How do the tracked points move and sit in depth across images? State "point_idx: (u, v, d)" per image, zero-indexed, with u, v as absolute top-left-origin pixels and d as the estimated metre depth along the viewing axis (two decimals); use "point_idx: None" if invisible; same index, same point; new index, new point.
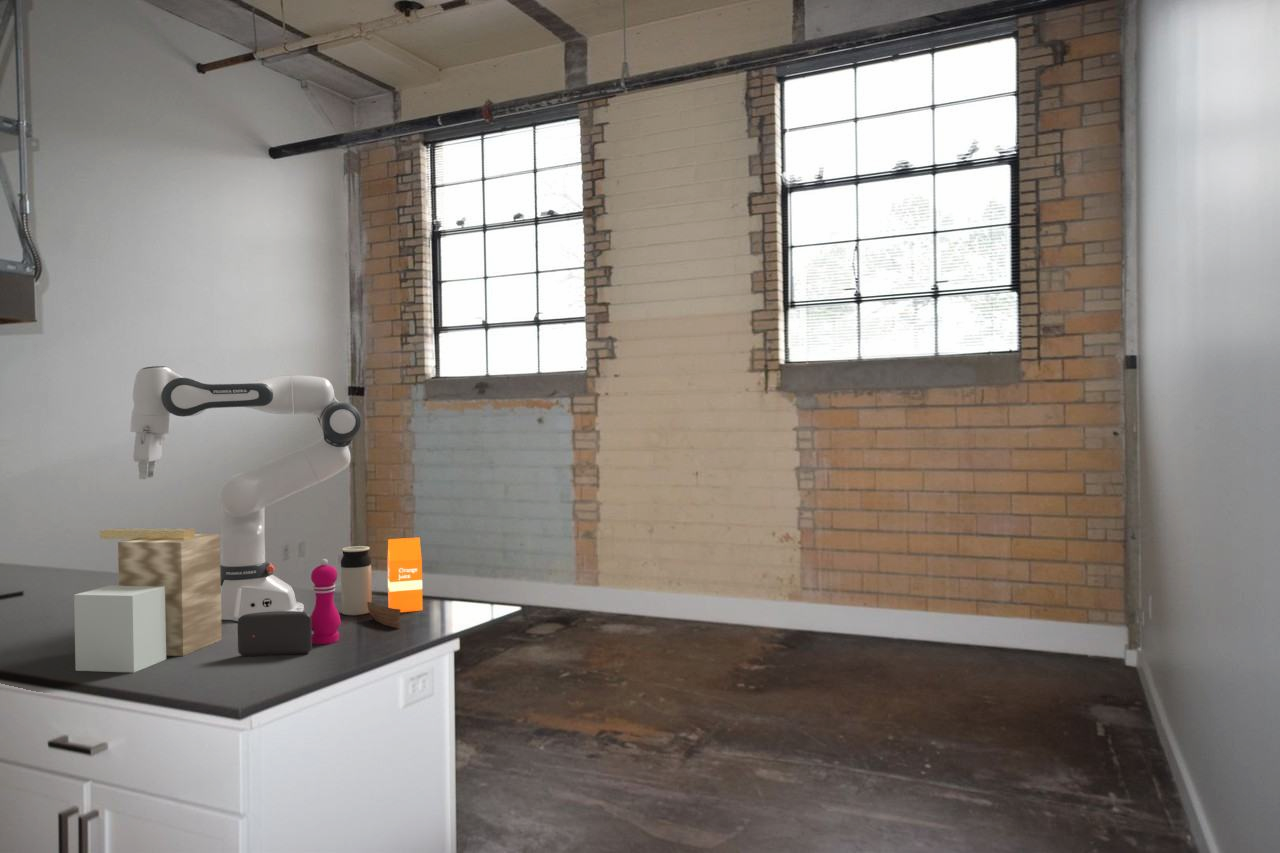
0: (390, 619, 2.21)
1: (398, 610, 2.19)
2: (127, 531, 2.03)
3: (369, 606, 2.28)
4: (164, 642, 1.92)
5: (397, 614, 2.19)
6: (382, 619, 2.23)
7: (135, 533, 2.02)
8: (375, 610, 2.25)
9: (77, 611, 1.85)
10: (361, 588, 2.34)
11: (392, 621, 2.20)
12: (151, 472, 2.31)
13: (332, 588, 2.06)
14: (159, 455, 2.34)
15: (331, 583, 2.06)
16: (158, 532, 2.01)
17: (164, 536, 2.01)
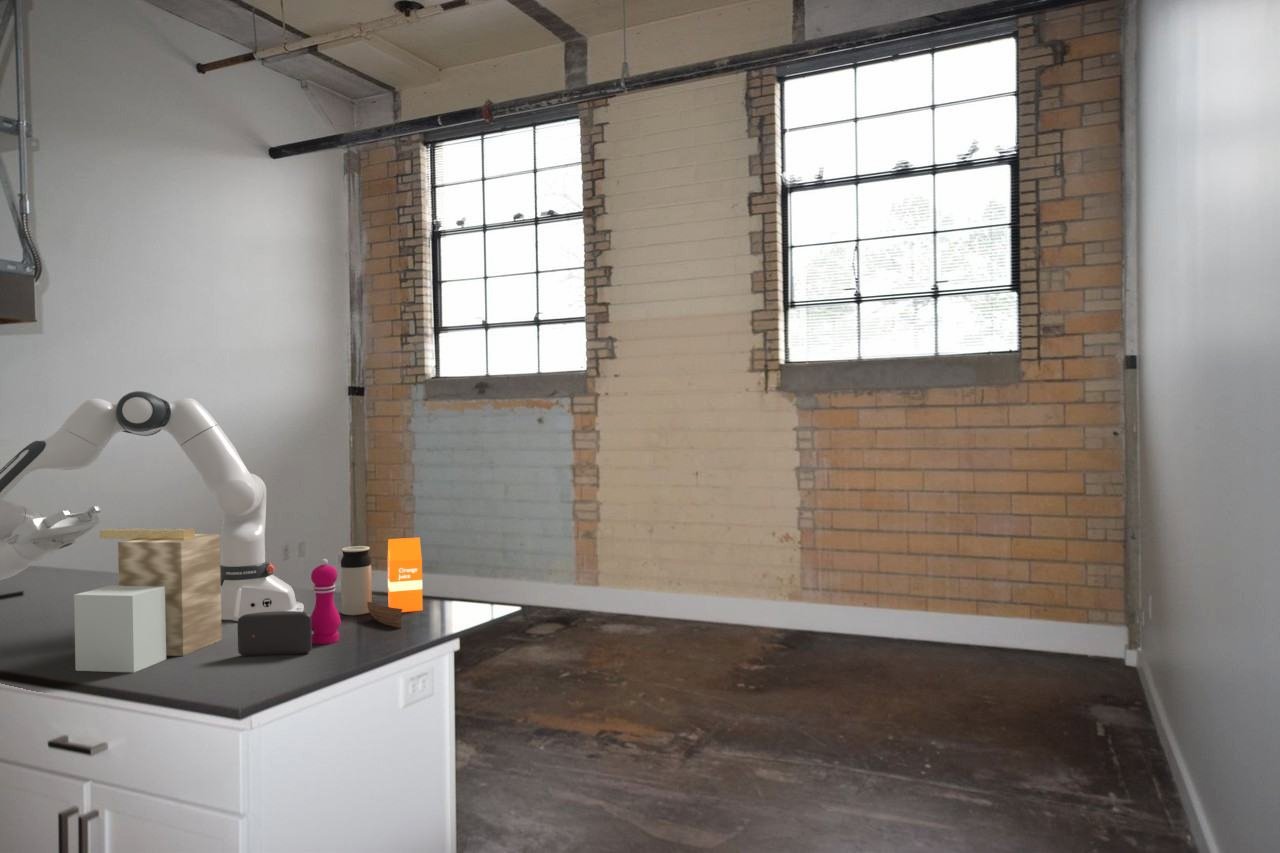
0: (391, 618, 2.21)
1: (400, 609, 2.19)
2: (127, 531, 2.03)
3: (369, 606, 2.28)
4: (164, 642, 1.92)
5: (398, 614, 2.19)
6: (383, 619, 2.23)
7: (135, 533, 2.02)
8: (376, 610, 2.25)
9: (77, 611, 1.85)
10: (361, 588, 2.34)
11: (393, 621, 2.20)
12: (90, 509, 2.11)
13: (332, 588, 2.06)
14: None
15: (331, 583, 2.06)
16: (158, 532, 2.01)
17: (164, 536, 2.01)
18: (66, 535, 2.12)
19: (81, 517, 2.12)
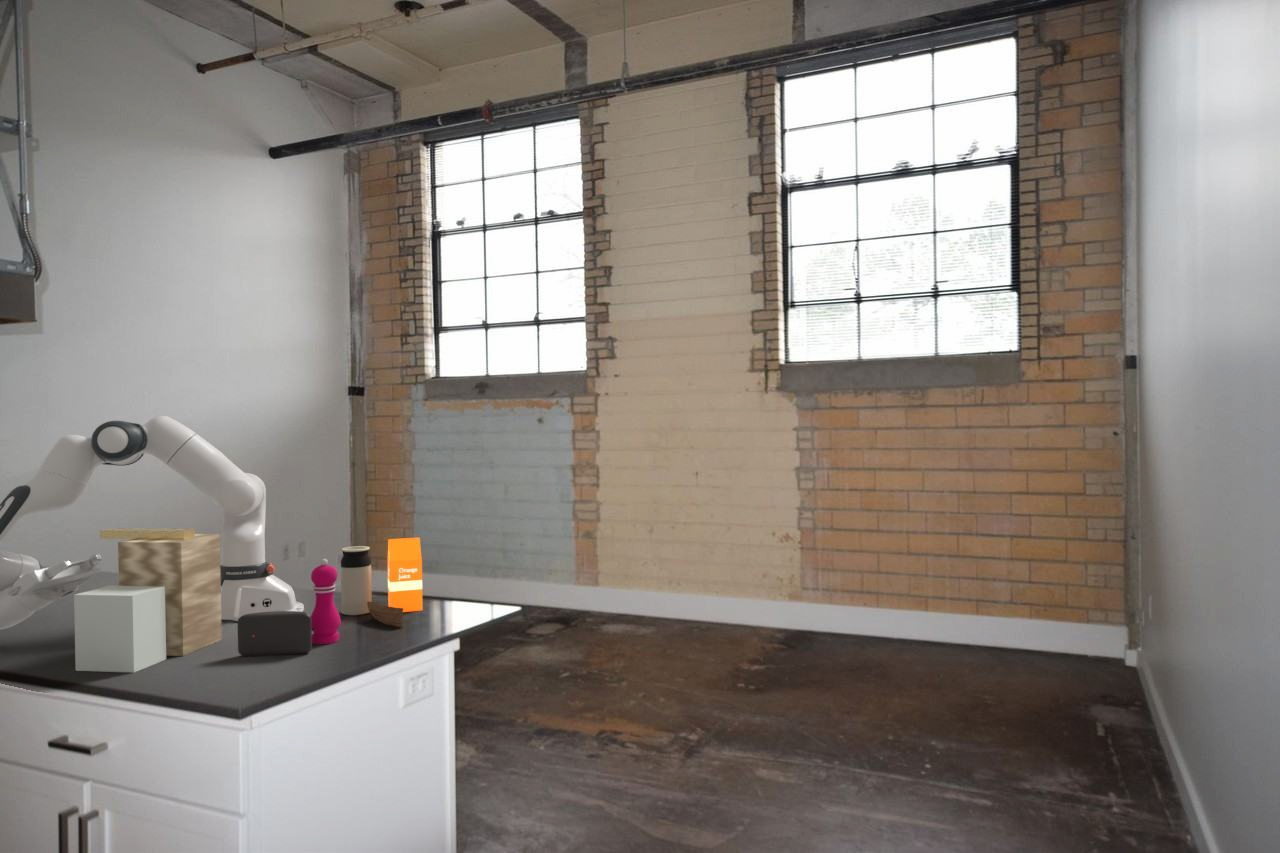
0: (392, 618, 2.21)
1: (401, 609, 2.19)
2: (127, 531, 2.03)
3: (369, 606, 2.28)
4: (164, 642, 1.92)
5: (399, 613, 2.20)
6: (383, 618, 2.24)
7: (135, 533, 2.02)
8: (376, 609, 2.25)
9: (77, 611, 1.85)
10: (361, 588, 2.34)
11: (394, 620, 2.21)
12: (91, 558, 2.11)
13: (332, 588, 2.06)
14: None
15: (331, 583, 2.06)
16: (158, 532, 2.01)
17: (164, 536, 2.01)
18: (68, 583, 2.12)
19: (82, 565, 2.12)
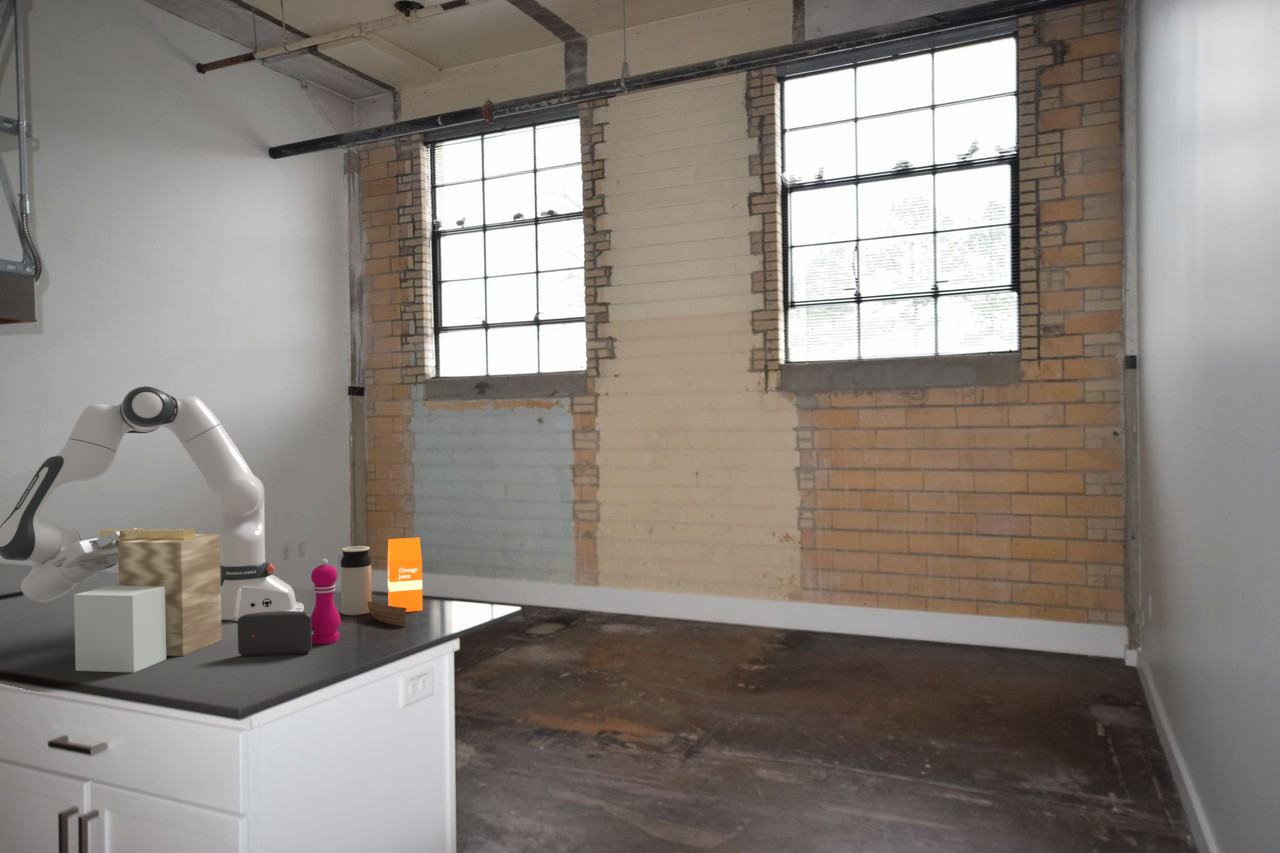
0: (395, 617, 2.22)
1: (404, 608, 2.20)
2: (127, 531, 2.03)
3: (370, 606, 2.28)
4: (164, 642, 1.92)
5: (403, 613, 2.21)
6: (385, 618, 2.24)
7: (135, 533, 2.02)
8: (377, 609, 2.26)
9: (77, 611, 1.85)
10: (361, 588, 2.34)
11: (397, 620, 2.21)
12: None
13: (332, 588, 2.06)
14: None
15: (331, 583, 2.06)
16: (158, 532, 2.01)
17: (164, 536, 2.01)
18: (110, 556, 2.10)
19: None
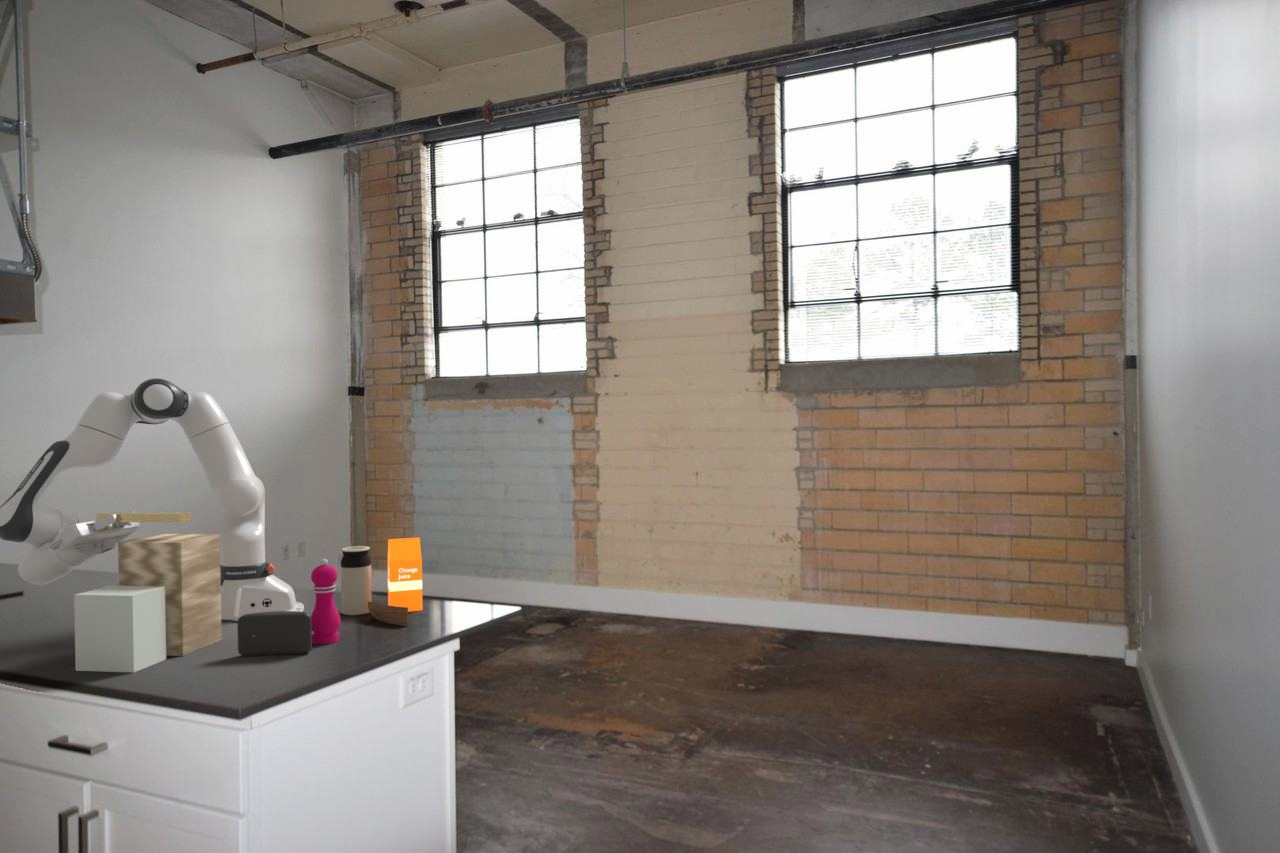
0: (396, 617, 2.23)
1: (405, 608, 2.21)
2: (124, 514, 2.03)
3: (370, 606, 2.28)
4: (164, 642, 1.92)
5: (404, 612, 2.21)
6: (386, 618, 2.25)
7: (132, 517, 2.02)
8: (378, 609, 2.26)
9: (77, 611, 1.85)
10: (361, 588, 2.34)
11: (398, 620, 2.22)
12: None
13: (332, 588, 2.06)
14: None
15: (331, 583, 2.06)
16: (155, 515, 2.01)
17: (160, 520, 2.01)
18: (107, 540, 2.10)
19: None
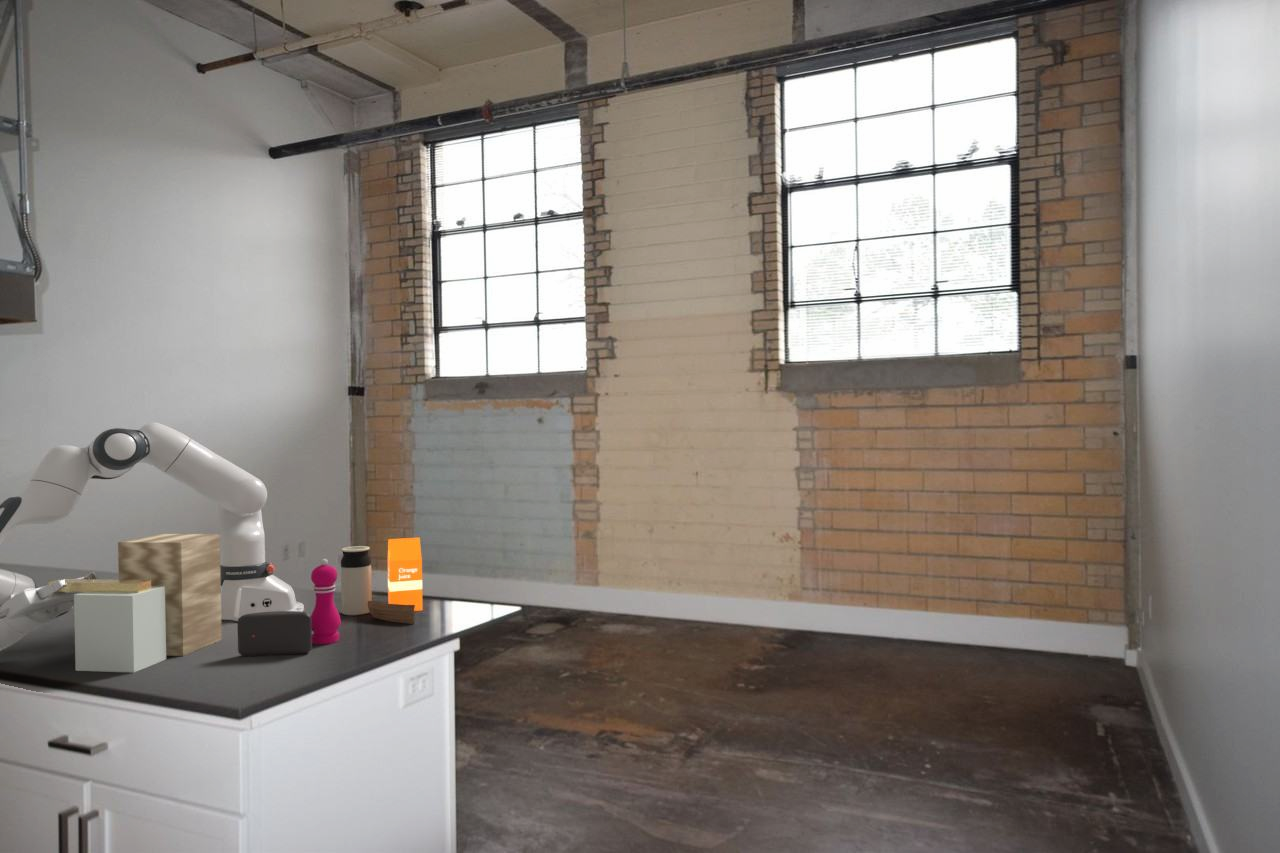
0: (401, 615, 2.25)
1: (412, 606, 2.23)
2: (77, 583, 1.88)
3: (370, 605, 2.29)
4: (164, 642, 1.92)
5: (411, 610, 2.24)
6: (389, 616, 2.26)
7: (86, 586, 1.88)
8: (380, 608, 2.27)
9: (77, 611, 1.85)
10: (361, 588, 2.34)
11: (404, 617, 2.24)
12: (85, 576, 1.94)
13: (332, 588, 2.06)
14: None
15: (331, 583, 2.06)
16: (111, 585, 1.87)
17: (117, 589, 1.87)
18: (61, 604, 1.95)
19: None
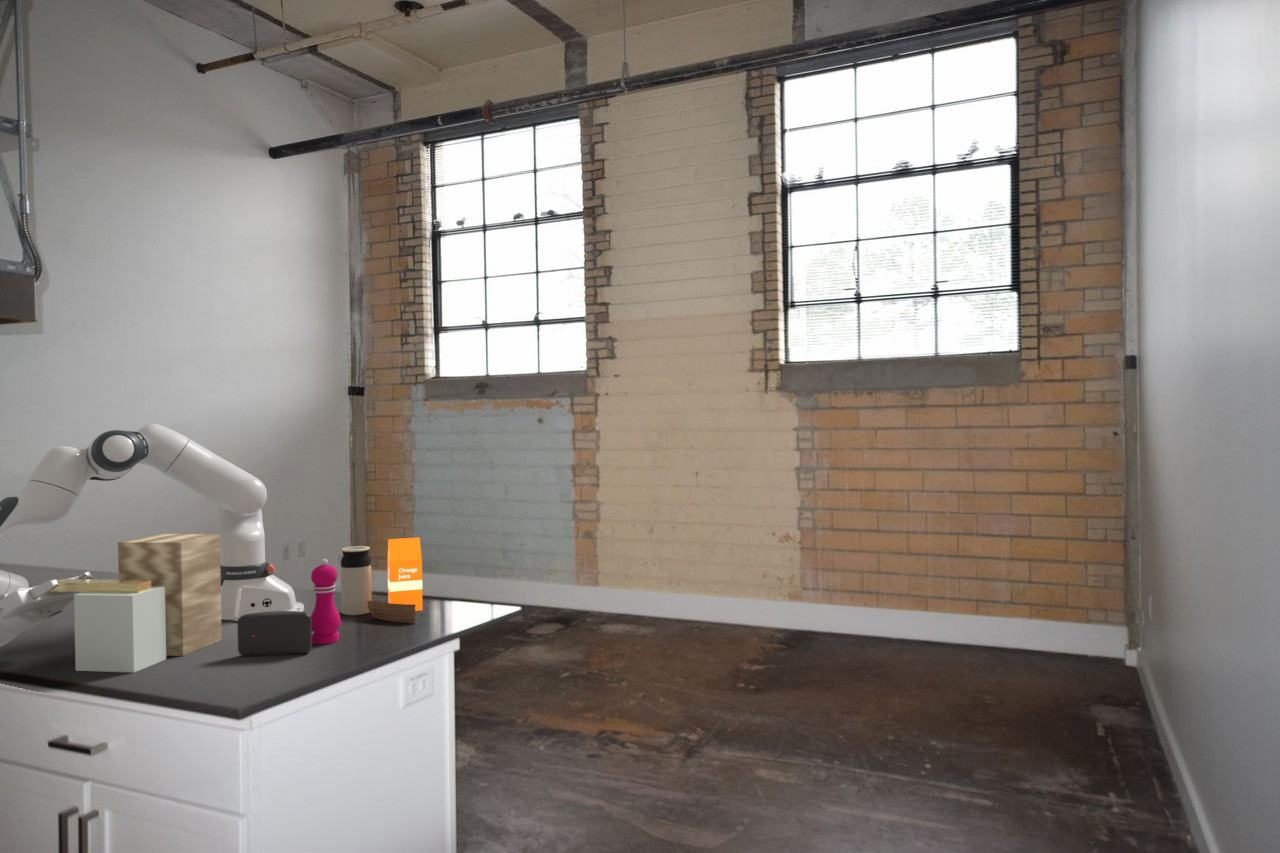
0: (402, 615, 2.25)
1: (413, 605, 2.24)
2: (77, 583, 1.88)
3: (370, 605, 2.29)
4: (164, 642, 1.92)
5: (411, 609, 2.24)
6: (390, 616, 2.26)
7: (86, 586, 1.88)
8: (380, 608, 2.27)
9: (77, 611, 1.85)
10: (361, 588, 2.34)
11: (405, 617, 2.24)
12: (80, 576, 1.94)
13: (332, 588, 2.06)
14: None
15: (331, 583, 2.06)
16: (111, 585, 1.87)
17: (117, 589, 1.87)
18: (55, 603, 1.95)
19: None
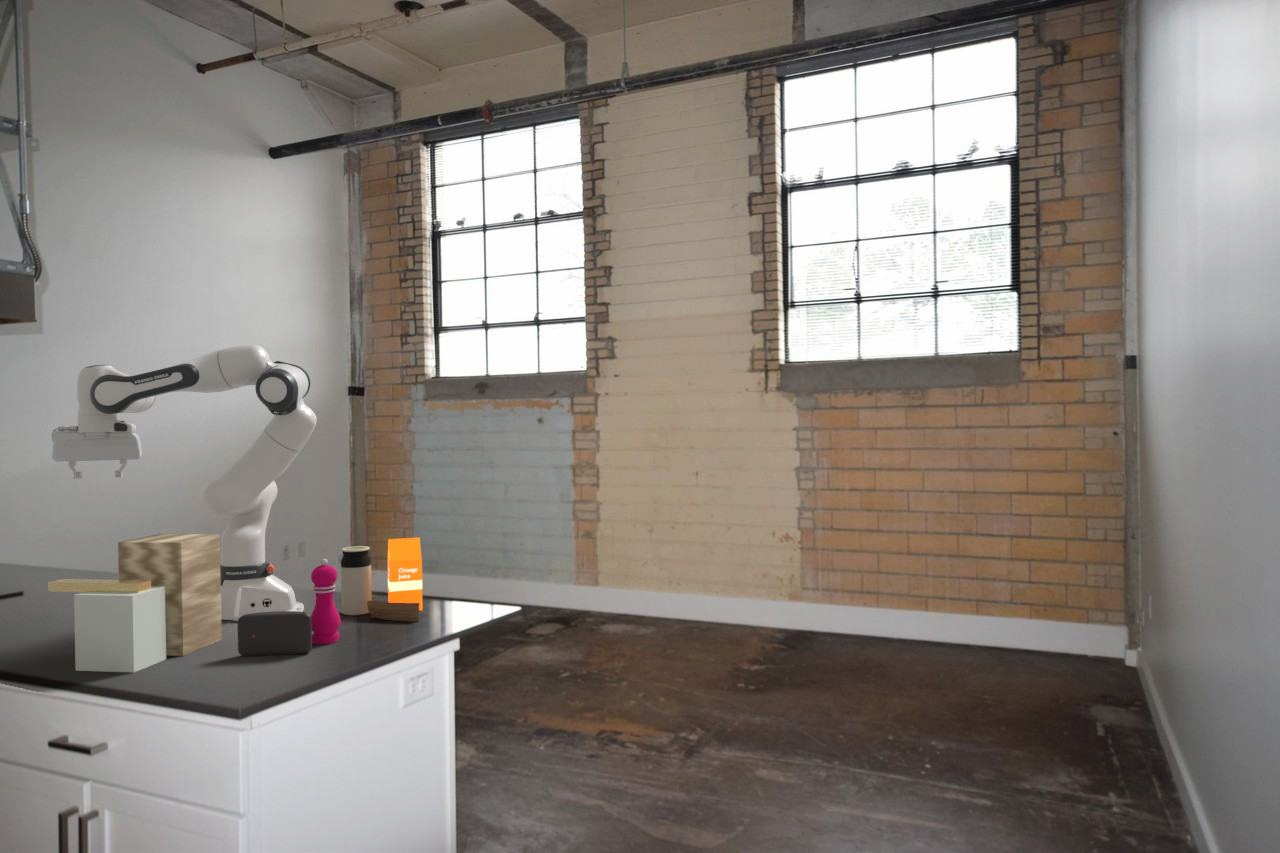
0: (404, 613, 2.26)
1: (416, 604, 2.26)
2: (77, 583, 1.88)
3: (370, 605, 2.29)
4: (164, 642, 1.92)
5: (415, 608, 2.26)
6: (392, 615, 2.27)
7: (86, 586, 1.88)
8: (381, 608, 2.28)
9: (77, 611, 1.85)
10: (361, 588, 2.34)
11: (408, 616, 2.26)
12: None
13: (332, 588, 2.06)
14: (123, 454, 2.28)
15: (331, 583, 2.06)
16: (111, 585, 1.87)
17: (117, 589, 1.87)
18: None
19: None
